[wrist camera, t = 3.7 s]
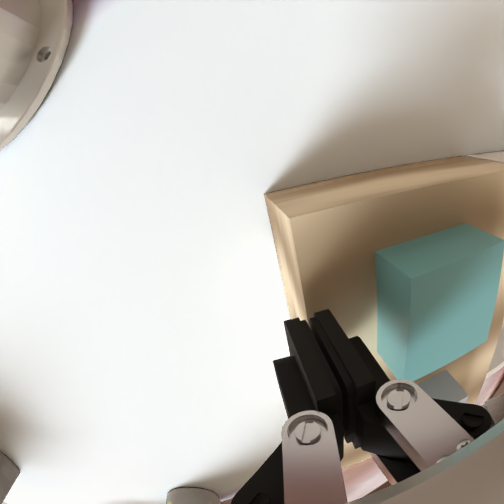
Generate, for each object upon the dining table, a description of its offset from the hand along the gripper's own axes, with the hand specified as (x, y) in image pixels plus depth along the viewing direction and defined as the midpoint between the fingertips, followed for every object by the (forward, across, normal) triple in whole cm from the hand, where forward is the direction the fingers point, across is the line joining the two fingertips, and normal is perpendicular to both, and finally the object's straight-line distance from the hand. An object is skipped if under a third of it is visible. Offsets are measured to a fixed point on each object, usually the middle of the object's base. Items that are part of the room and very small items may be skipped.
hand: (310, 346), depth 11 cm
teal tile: (+1, -6, 0) cm, 6 cm away
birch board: (+6, -7, +4) cm, 10 cm away
